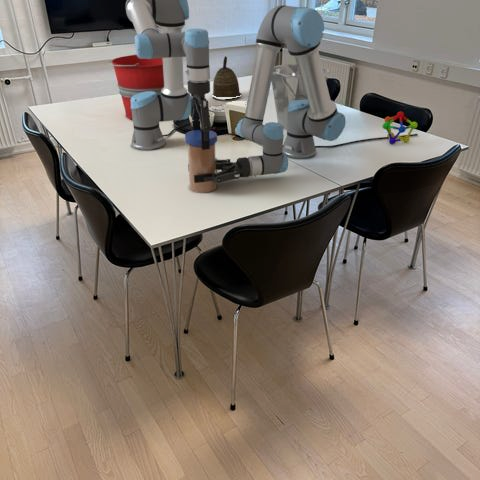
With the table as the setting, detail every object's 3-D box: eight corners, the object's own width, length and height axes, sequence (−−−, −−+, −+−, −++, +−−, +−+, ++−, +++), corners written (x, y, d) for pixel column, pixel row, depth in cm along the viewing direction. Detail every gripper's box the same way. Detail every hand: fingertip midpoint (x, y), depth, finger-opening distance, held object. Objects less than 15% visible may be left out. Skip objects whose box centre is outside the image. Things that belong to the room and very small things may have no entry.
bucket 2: (296, 138, 215) (301, 78, 201) (255, 124, 234) (256, 68, 219) (335, 125, 232) (342, 70, 217) (294, 113, 251) (297, 61, 236)
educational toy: (377, 146, 209) (379, 114, 202) (384, 138, 219) (386, 107, 211) (411, 149, 202) (415, 116, 195) (417, 141, 212) (420, 109, 204)
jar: (186, 183, 171) (183, 133, 160) (211, 180, 174) (210, 130, 163) (194, 194, 163) (191, 142, 152) (219, 190, 166) (218, 139, 155)
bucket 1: (125, 105, 263) (118, 51, 247) (184, 106, 262) (180, 52, 246) (109, 123, 234) (99, 63, 218) (175, 124, 233) (170, 64, 217)
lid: (195, 148, 152) (194, 142, 151) (179, 139, 160) (179, 133, 159) (223, 142, 157) (222, 136, 156) (206, 133, 165) (206, 127, 164)
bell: (227, 105, 294) (202, 96, 282) (238, 66, 289) (213, 55, 277) (243, 108, 280) (217, 98, 268) (255, 66, 275) (229, 55, 263)
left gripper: (179, 74, 156) (183, 134, 167) (196, 89, 137) (199, 156, 149) (200, 72, 158) (202, 132, 170) (219, 87, 139) (220, 153, 151)
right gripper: (257, 187, 162) (198, 195, 157) (239, 165, 181) (186, 171, 175) (258, 168, 158) (197, 175, 153) (239, 147, 177) (184, 153, 171)
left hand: (201, 143), depth 159 cm, fingers closed on lid, 11 cm apart
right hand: (191, 173), depth 164 cm, fingers closed on jar, 10 cm apart
